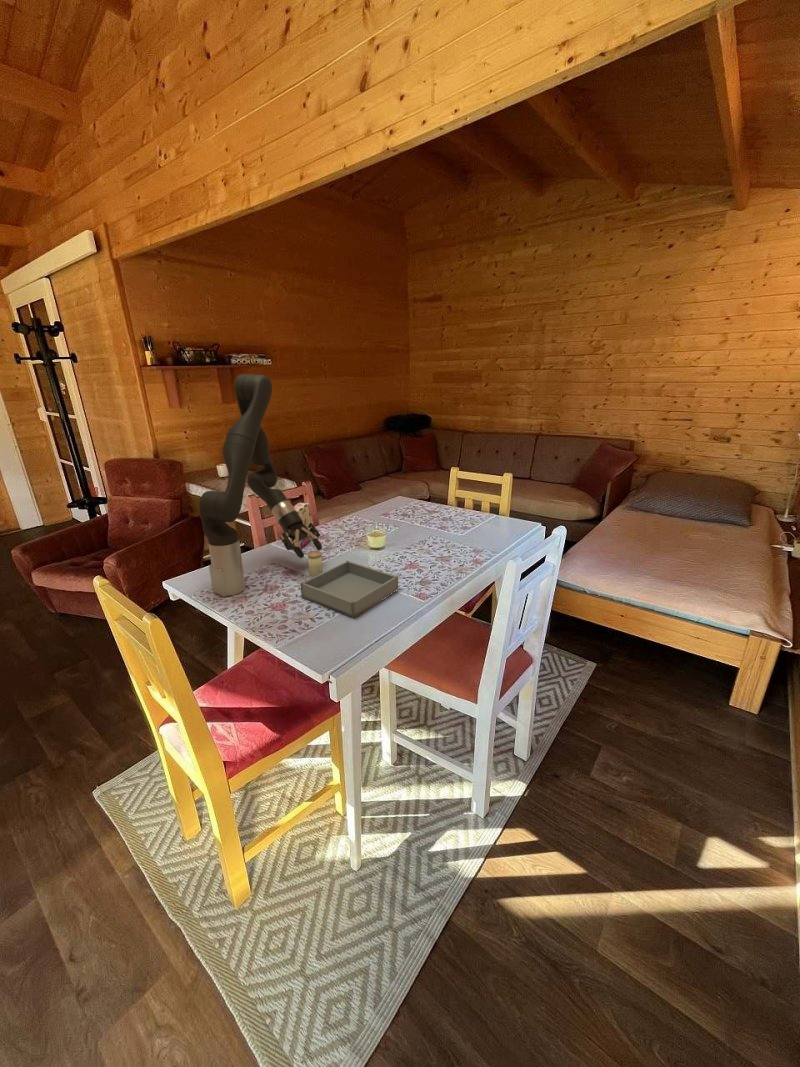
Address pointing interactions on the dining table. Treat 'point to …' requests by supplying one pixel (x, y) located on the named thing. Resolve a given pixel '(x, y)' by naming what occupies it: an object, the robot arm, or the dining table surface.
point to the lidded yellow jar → (315, 563)
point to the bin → (349, 588)
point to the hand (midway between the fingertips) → (311, 553)
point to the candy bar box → (303, 519)
